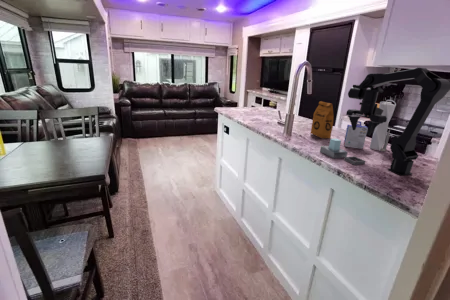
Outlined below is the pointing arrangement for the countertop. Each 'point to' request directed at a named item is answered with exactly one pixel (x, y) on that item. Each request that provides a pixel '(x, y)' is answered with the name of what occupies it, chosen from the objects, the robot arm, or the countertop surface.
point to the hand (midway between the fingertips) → (361, 132)
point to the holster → (357, 162)
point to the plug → (334, 144)
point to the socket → (333, 152)
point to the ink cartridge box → (355, 136)
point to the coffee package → (323, 120)
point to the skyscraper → (382, 127)
